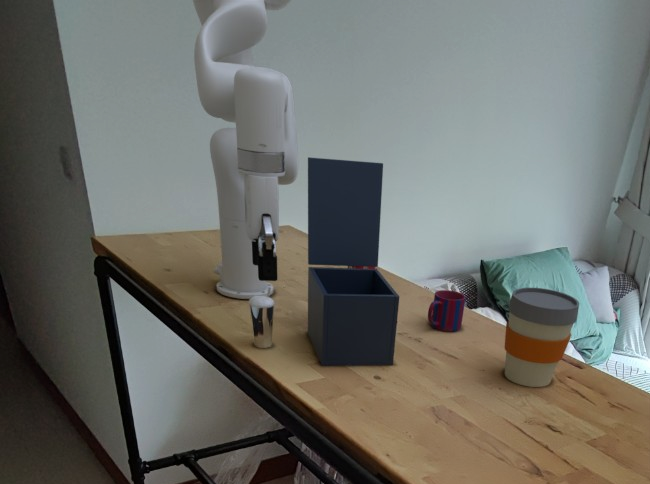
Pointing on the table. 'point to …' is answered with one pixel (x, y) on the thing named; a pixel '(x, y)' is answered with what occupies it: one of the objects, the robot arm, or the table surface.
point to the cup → (447, 310)
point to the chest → (351, 316)
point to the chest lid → (344, 212)
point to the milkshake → (262, 319)
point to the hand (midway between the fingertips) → (264, 272)
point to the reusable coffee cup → (537, 334)
